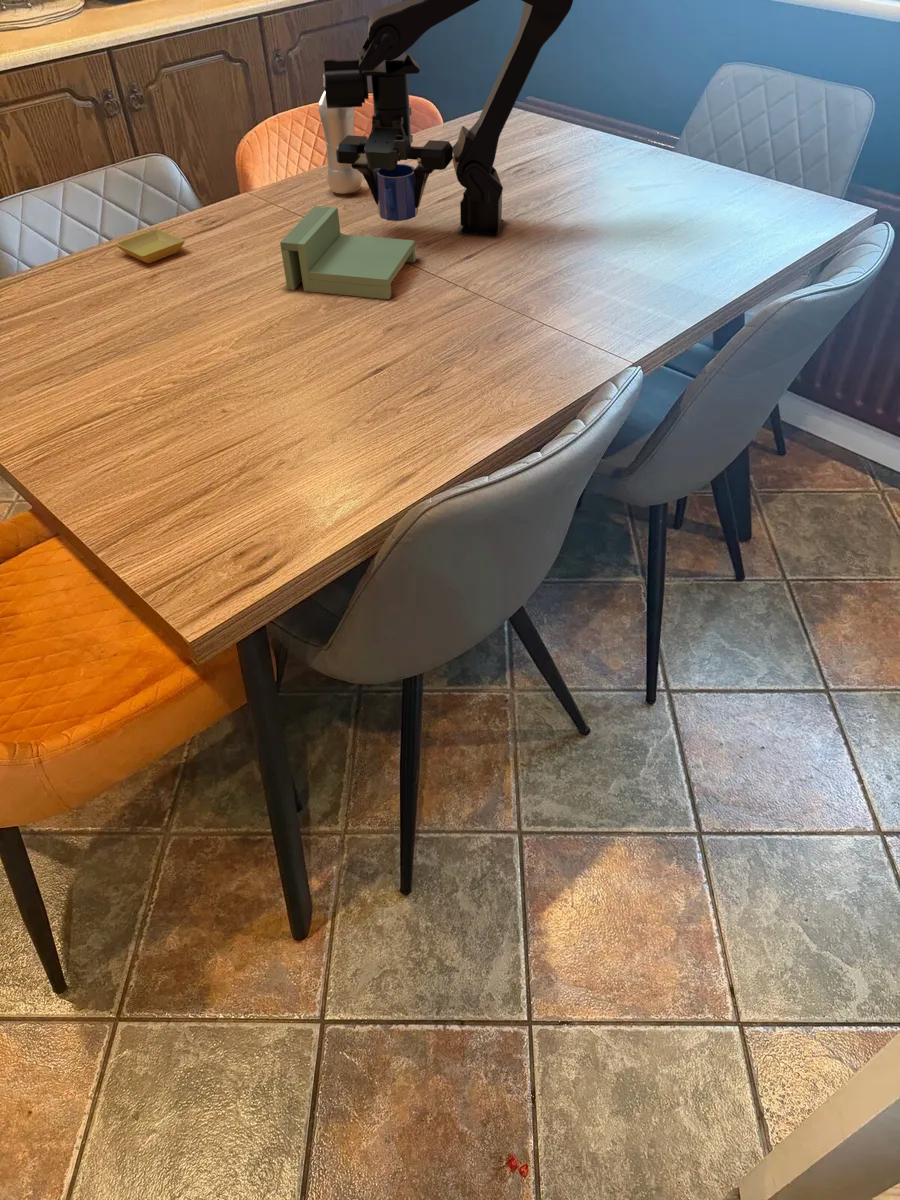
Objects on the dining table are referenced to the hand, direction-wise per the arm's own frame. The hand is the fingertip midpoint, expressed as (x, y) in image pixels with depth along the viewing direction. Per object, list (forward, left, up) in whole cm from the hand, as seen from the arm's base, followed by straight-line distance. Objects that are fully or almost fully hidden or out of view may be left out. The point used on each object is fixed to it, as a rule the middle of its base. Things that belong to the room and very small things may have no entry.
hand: (397, 205), depth 148 cm
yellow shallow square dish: (+39, +17, -5) cm, 43 cm away
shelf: (+3, +18, -5) cm, 18 cm away
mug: (0, +1, -1) cm, 2 cm away
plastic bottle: (+16, -17, -5) cm, 24 cm away
